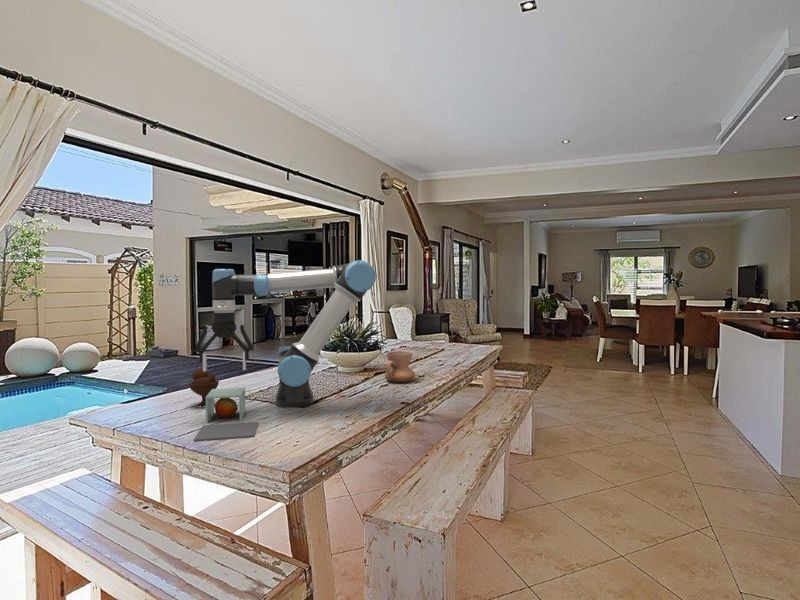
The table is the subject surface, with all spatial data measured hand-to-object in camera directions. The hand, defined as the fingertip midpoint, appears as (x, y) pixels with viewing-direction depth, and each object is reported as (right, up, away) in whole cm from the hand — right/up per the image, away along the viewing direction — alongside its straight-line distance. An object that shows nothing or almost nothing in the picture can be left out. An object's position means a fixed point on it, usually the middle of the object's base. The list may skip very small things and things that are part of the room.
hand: (224, 370), depth 170 cm
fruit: (0, -17, +1) cm, 17 cm away
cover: (0, -17, +1) cm, 17 cm away
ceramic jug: (+63, -14, +57) cm, 86 cm away
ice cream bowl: (-14, -17, +16) cm, 27 cm away
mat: (+7, -18, -16) cm, 25 cm away
